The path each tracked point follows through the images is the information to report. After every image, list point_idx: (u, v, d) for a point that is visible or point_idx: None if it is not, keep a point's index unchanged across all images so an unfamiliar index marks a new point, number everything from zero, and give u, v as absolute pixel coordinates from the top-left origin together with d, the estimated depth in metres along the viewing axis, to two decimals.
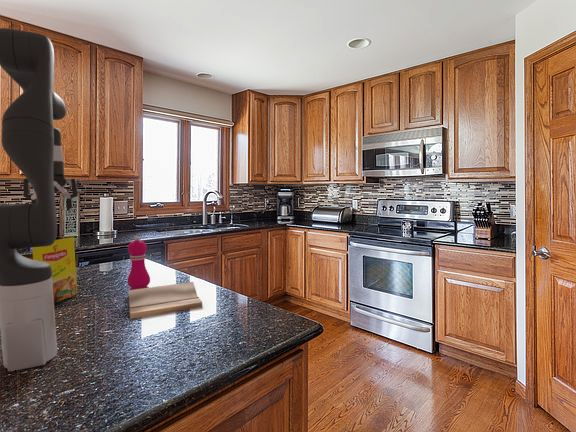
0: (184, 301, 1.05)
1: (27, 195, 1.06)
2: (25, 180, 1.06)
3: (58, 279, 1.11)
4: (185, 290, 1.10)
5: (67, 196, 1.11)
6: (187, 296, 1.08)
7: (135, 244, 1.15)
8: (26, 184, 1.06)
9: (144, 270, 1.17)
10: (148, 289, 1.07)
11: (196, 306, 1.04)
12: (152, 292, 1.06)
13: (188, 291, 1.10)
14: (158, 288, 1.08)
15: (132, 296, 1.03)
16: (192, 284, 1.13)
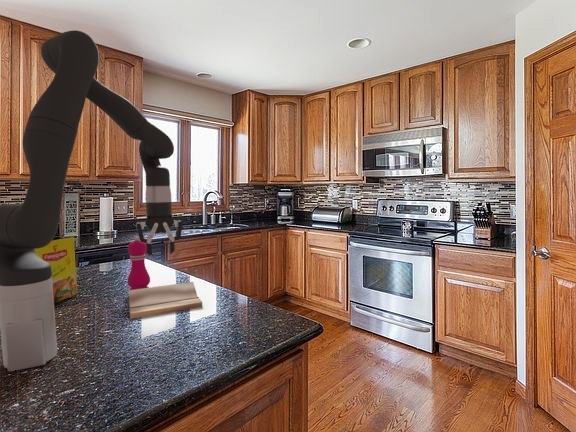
0: (184, 301, 1.05)
1: (143, 239, 1.04)
2: (138, 225, 1.03)
3: (58, 279, 1.11)
4: (185, 290, 1.10)
5: (171, 239, 1.08)
6: (187, 296, 1.08)
7: (135, 244, 1.15)
8: (140, 229, 1.04)
9: (144, 270, 1.17)
10: (148, 289, 1.07)
11: (196, 306, 1.04)
12: (152, 292, 1.06)
13: (188, 291, 1.10)
14: (158, 288, 1.08)
15: (132, 296, 1.03)
16: (192, 284, 1.13)
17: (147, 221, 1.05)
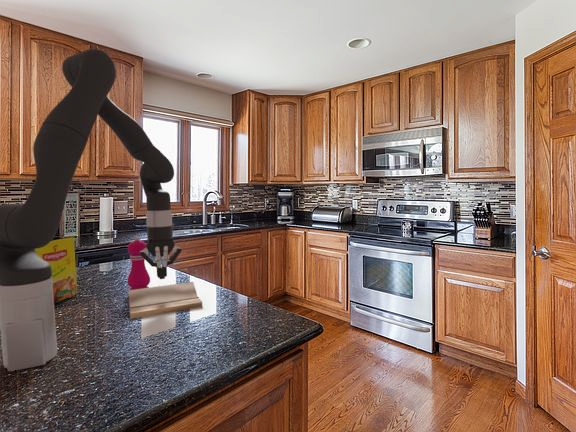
0: (184, 301, 1.05)
1: (154, 264, 1.06)
2: (142, 254, 1.04)
3: (58, 279, 1.11)
4: (185, 290, 1.10)
5: (163, 264, 1.08)
6: (187, 296, 1.08)
7: (135, 244, 1.15)
8: (145, 256, 1.05)
9: (144, 270, 1.17)
10: (148, 289, 1.07)
11: (196, 306, 1.04)
12: (152, 292, 1.06)
13: (188, 291, 1.10)
14: (158, 288, 1.08)
15: (132, 296, 1.03)
16: (192, 284, 1.13)
17: (148, 246, 1.05)
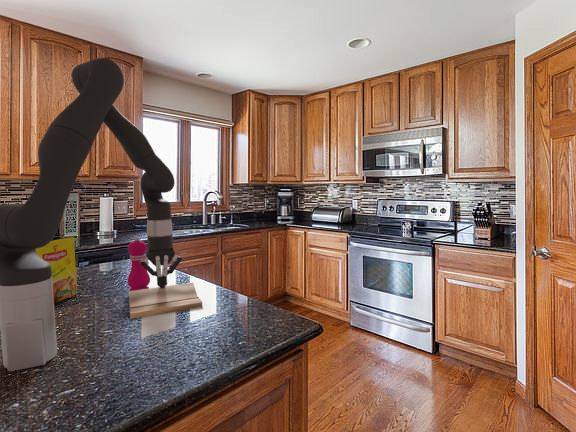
0: (184, 301, 1.05)
1: (154, 273, 1.07)
2: (142, 263, 1.05)
3: (58, 279, 1.11)
4: (185, 290, 1.10)
5: (163, 273, 1.08)
6: (187, 296, 1.08)
7: (135, 244, 1.15)
8: (145, 265, 1.05)
9: (144, 270, 1.17)
10: (148, 290, 1.07)
11: (196, 306, 1.04)
12: (152, 293, 1.06)
13: (188, 291, 1.10)
14: (158, 289, 1.08)
15: (132, 296, 1.04)
16: (192, 285, 1.13)
17: (148, 255, 1.06)
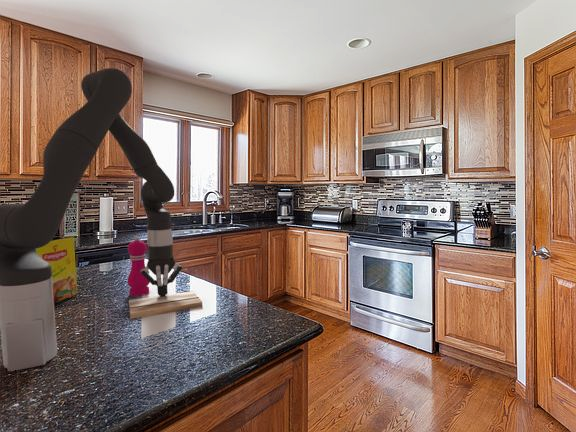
0: (184, 301, 1.05)
1: (155, 282, 1.08)
2: (142, 273, 1.06)
3: (58, 279, 1.11)
4: (185, 295, 1.11)
5: (164, 283, 1.09)
6: (187, 297, 1.08)
7: (135, 244, 1.15)
8: (146, 275, 1.06)
9: None
10: (148, 298, 1.08)
11: (196, 306, 1.04)
12: (152, 299, 1.07)
13: (188, 295, 1.10)
14: (159, 296, 1.09)
15: (132, 302, 1.04)
16: (192, 292, 1.14)
17: (149, 265, 1.06)
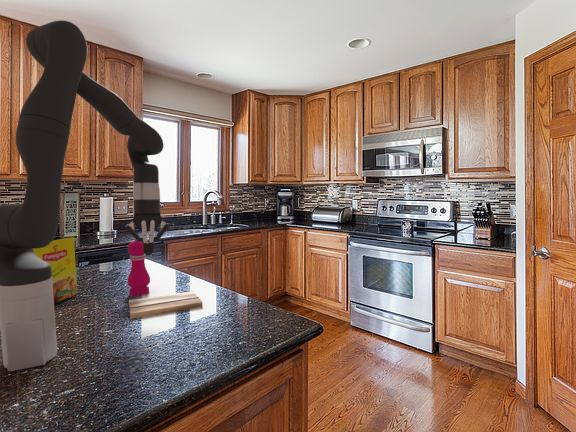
0: (184, 301, 1.05)
1: (140, 239, 1.03)
2: (127, 227, 1.01)
3: (58, 279, 1.11)
4: (185, 295, 1.11)
5: (150, 240, 1.04)
6: (187, 297, 1.08)
7: (135, 244, 1.15)
8: (131, 230, 1.01)
9: (144, 270, 1.17)
10: (148, 298, 1.08)
11: (196, 306, 1.04)
12: (152, 299, 1.07)
13: (188, 295, 1.10)
14: (159, 296, 1.09)
15: (132, 302, 1.04)
16: (192, 292, 1.14)
17: (134, 220, 1.02)
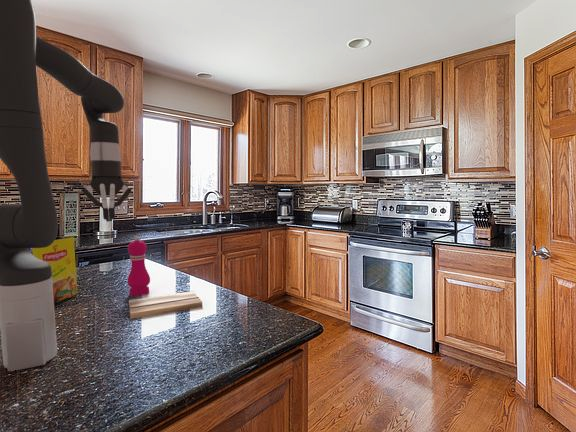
0: (184, 301, 1.05)
1: (99, 203, 0.95)
2: (84, 191, 0.93)
3: (58, 279, 1.11)
4: (185, 295, 1.11)
5: (110, 205, 0.96)
6: (187, 297, 1.08)
7: (135, 244, 1.15)
8: (88, 193, 0.94)
9: (144, 270, 1.17)
10: (148, 298, 1.08)
11: (196, 306, 1.04)
12: (152, 299, 1.07)
13: (188, 295, 1.10)
14: (159, 296, 1.09)
15: (132, 302, 1.04)
16: (192, 292, 1.14)
17: (91, 183, 0.94)
